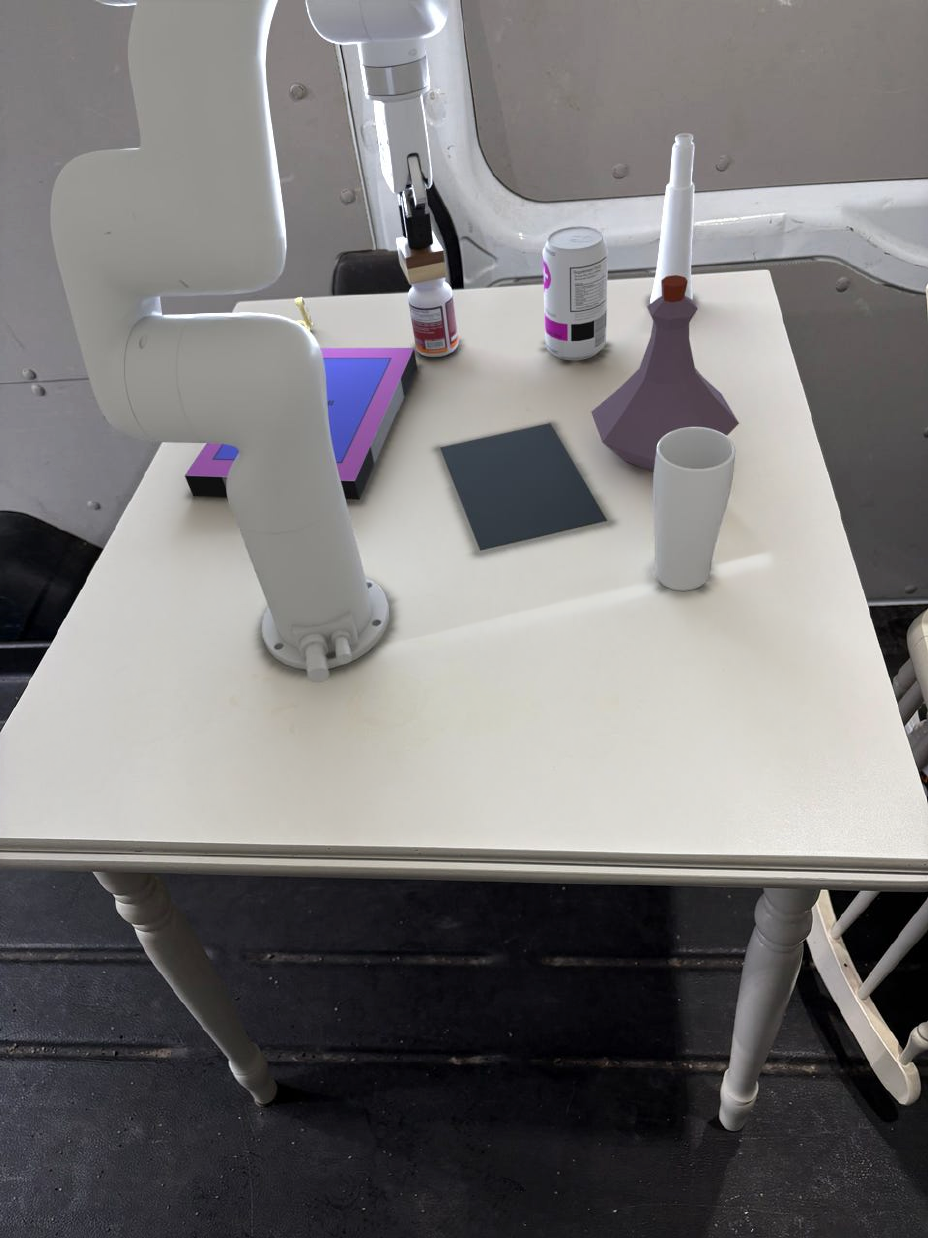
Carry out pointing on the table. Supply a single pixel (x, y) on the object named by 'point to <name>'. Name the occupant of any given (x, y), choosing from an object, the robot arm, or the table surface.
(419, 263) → the brush
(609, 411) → the flask
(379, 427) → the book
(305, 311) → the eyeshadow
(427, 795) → the table surface
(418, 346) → the pill bottle
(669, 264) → the cosmetic bottle
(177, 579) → the table surface
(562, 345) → the supplement can
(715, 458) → the drinking glass
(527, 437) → the mat
